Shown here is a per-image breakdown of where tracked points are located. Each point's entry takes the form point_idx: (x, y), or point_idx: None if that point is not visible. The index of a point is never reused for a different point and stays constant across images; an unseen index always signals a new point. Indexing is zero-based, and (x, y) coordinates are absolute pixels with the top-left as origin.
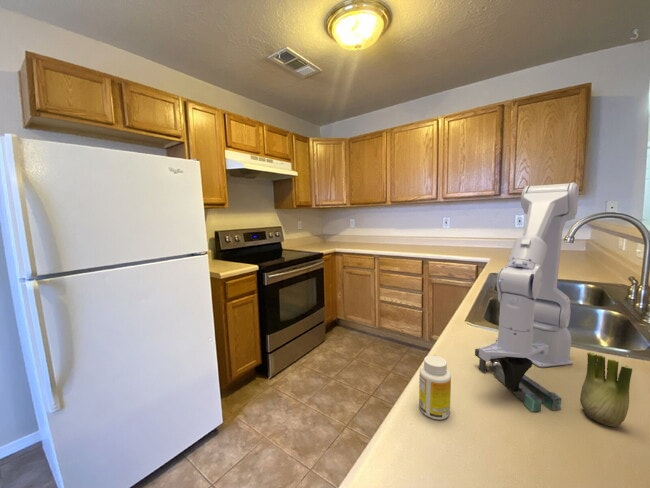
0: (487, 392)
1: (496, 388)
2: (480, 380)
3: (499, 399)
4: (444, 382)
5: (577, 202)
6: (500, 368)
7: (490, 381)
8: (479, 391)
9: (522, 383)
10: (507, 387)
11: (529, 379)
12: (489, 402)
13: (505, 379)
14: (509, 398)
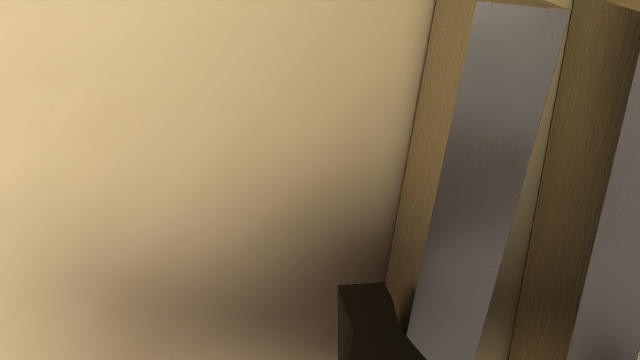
0: (155, 239)
1: (288, 200)
2: (210, 51)
3: (203, 327)
4: None
5: None
6: (511, 90)
7: (314, 87)
8: (83, 217)
9: (552, 267)
10: (338, 308)
11: (620, 334)
12: (90, 346)
13: (347, 326)
14: (299, 326)
